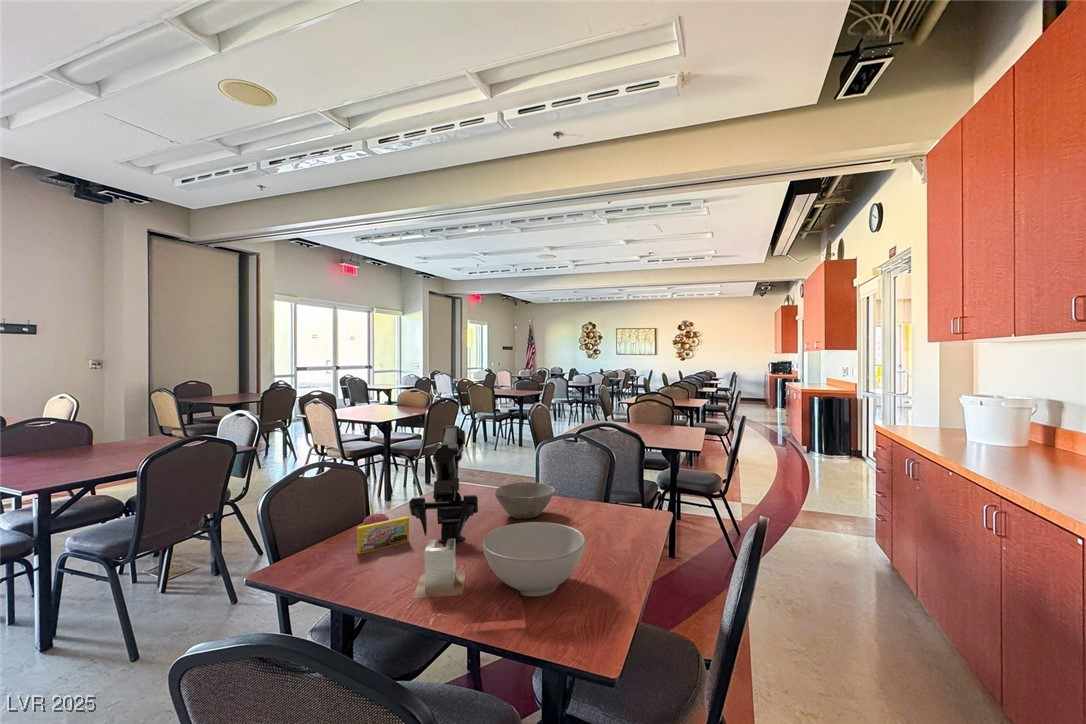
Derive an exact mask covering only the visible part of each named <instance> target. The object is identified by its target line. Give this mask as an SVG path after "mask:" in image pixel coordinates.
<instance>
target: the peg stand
mask: <svg viewBox="0 0 1086 724" xmlns="http://www.w3.org/2000/svg"><path fill="white" fill-rule="evenodd" d="M466 572H467V571H466V570H456V578H455V584H454V589H453V590H443V591H428V592H425V572H421V573H420V576H419V579H418V582H417V584H416V588H415V591H414V593H413V596H412V599H424V598H436V597H437V598H440V597H452V596H453V597H455V596H463V594H464V588H465V581H466V580H465V579H466Z"/></svg>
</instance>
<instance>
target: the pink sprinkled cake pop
mask: <svg viewBox="0 0 1086 724" xmlns="http://www.w3.org/2000/svg"><path fill="white" fill-rule="evenodd" d="M369 506H370V507H369V508H370V512H371V515H368V516H366V517H365V518H364V520H363V521H362V526H364V525H369V524H373V523H378V522H383V521H388V520H390V519H389V516H387V515H386V514H384V513H382V512H380V513H374V508H373V507H374V506H373V503H372V502H371V500H370V501H369Z"/></svg>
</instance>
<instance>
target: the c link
mask: <svg viewBox="0 0 1086 724" xmlns="http://www.w3.org/2000/svg"><path fill="white" fill-rule="evenodd" d="M425 546H426V547H425V549H424V552H423V553H424V573H425V592H428V591H443V590H453V589H454V584H455V578H456V571H457V570H456V569H457V566H456V564H457V562H456V561H457V559H456V544H455V538H454V539H448V540H447V543H445V546H444V547H443V546H442V547H437V539H428V541H427V544H426V545H425Z"/></svg>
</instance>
